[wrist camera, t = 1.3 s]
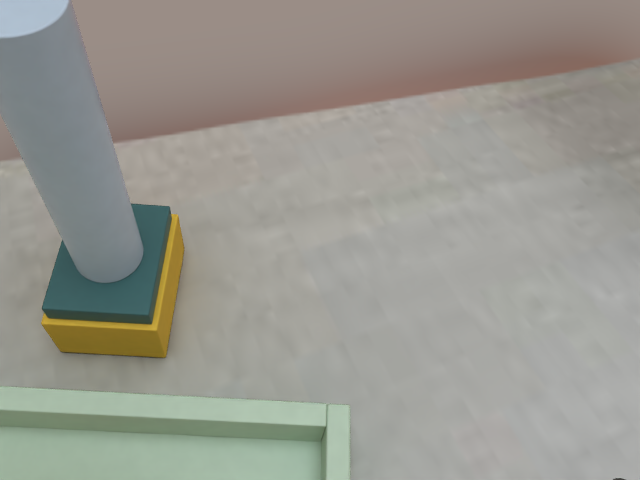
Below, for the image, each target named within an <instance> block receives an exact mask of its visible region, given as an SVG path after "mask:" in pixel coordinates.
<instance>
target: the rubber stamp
mask: <svg viewBox="0 0 640 480" xmlns="http://www.w3.org/2000/svg"><path fill="white" fill-rule="evenodd" d="M0 114H1V116H2V118H3V120H4V122H5V124H6V126H7V128H8V130H9V132H10V134H11V136H12V138H13V140H14V142H15V144H16V146H17V148H18V151H19V153H20V155H21V157H22V159H23V161H24V163H25V165H26V167H27V169H28V171H29V173H30V175H31V177H32V179H33V181H34V183H35V185H36V187H37V189H38V191H39V193H40V195H41V197H42V199H43V201H44V203H45V205H46V207H47V209H48V211H49V213H50V215H51V217H52V219H53V221H54V223H55V225H56V227H57V229H58V231H59V234H60V236H61V238H62V242H61V246H60V249H59V252H58V256H57V259H56V262H55V266H54V269H53V272H52V276H51V279H50V282H49V286H48V289H47V292H46V296H45V299H44V302H43V306H42V310H43V311H44V315H43V319H42V322H41V324H42V326H43V327H44V328H45V330H46V331H47V333H48V334H49V336H50V337H51V338H52V340H53V341H54V343H55V344H56V346H57V347H58V348H59V350H60V351H61V352H74V353H92V354H110V355H127V356H145V357H162V358H165V357H166V354H167V348H168V342H169V336H170V330H171V324H172V318H173V313H174V307H175V301H176V295H177V289H178V283H179V277H180V271H181V266H182V260H183V254H184V245H183V239H182V234H181V228H180V223H179V218H178V215H177V214H171V211H170V207H169V206H156V205H142V204H131V203H130V200H129V196H128V193H127V189H126V186H125V183H124V179H123V176H122V172H121V169H120V165H119V162H118V159H117V155H116V152H115V148H114V145H113V142H112V138H111V135H110V131H109V128H108V124H107V121H106V118H105V114H104V111H103V107H102V104H101V101H100V97H99V94H98V90H97V87H96V83H95V80H94V77H93V74H92V70H91V66H90V63H89V60H88V56H87V53H86V50H85V46H84V42H83V39H82V36H81V32H80V29H79V25H78V22H77V18H76V15H75V12H74V8H73V5H72V2H71V0H0Z"/></svg>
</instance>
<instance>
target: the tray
mask: <svg viewBox="0 0 640 480" xmlns="http://www.w3.org/2000/svg"><path fill="white" fill-rule="evenodd" d="M0 480H350V405H345V404H326V403H311V402H292V401H273V400H254V399H235V398H216V397H197V396H178V395H160V394H141V393H122V392H103V391H84V390H65V389H46V388H27V387H9V386H0Z"/></svg>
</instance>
